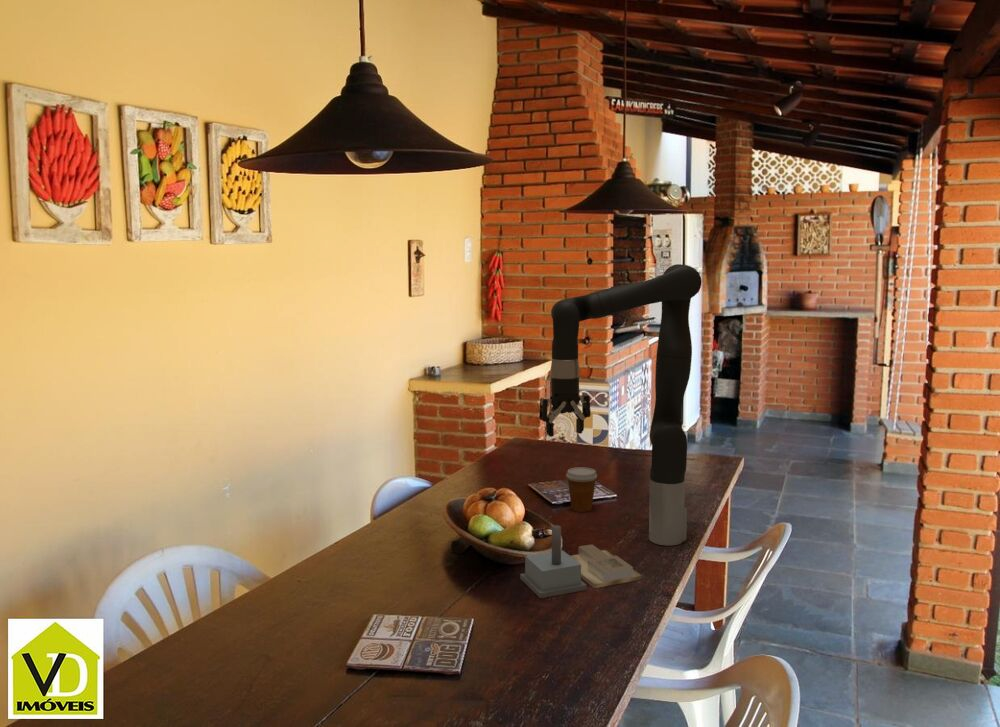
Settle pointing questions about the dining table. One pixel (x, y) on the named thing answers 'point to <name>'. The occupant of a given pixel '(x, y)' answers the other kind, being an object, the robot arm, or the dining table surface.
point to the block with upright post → (553, 571)
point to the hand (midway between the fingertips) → (564, 434)
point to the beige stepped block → (604, 564)
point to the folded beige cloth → (595, 581)
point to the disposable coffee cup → (581, 488)
